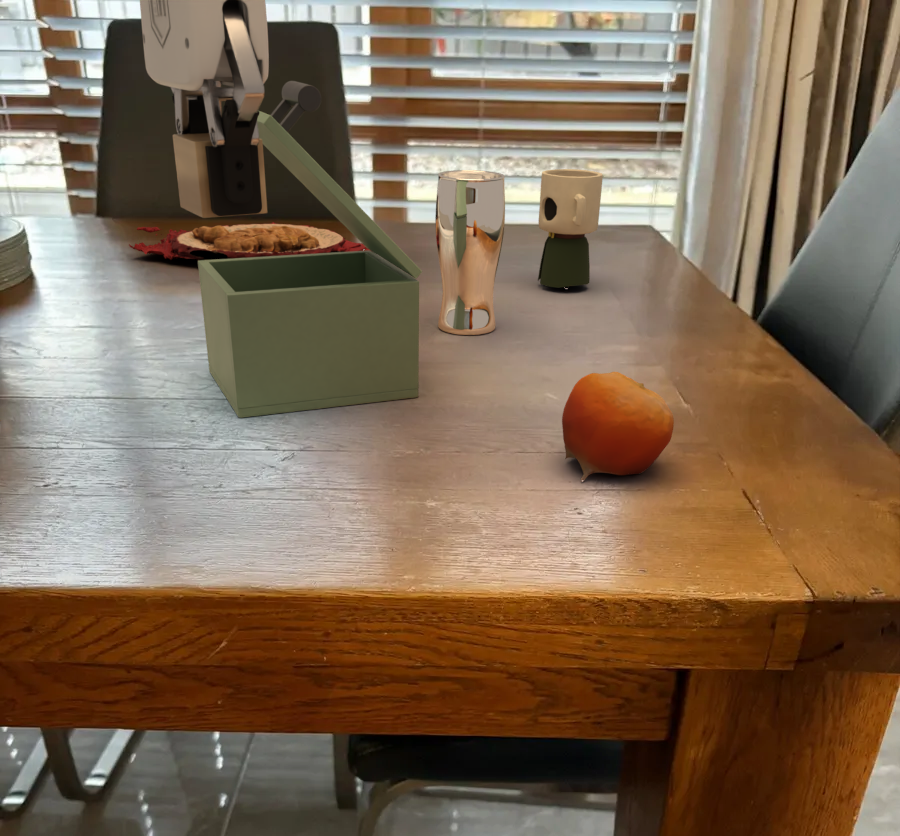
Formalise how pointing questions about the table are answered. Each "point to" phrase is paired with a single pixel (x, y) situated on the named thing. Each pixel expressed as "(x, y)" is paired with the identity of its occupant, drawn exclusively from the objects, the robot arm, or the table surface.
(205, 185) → the block
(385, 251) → the chest door
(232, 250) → the plate with food
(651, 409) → the fruit
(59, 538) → the table surface
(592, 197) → the character mug
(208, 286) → the chest
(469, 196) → the beer glass
